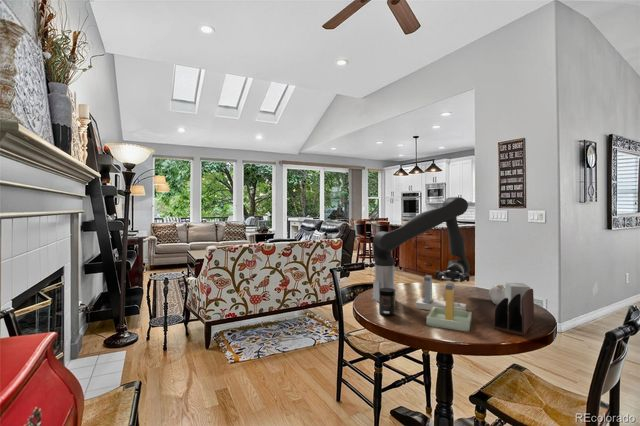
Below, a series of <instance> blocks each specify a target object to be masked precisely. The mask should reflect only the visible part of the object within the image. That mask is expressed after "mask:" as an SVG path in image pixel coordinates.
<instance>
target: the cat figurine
mask: <svg viewBox="0 0 640 426" xmlns="http://www.w3.org/2000/svg"><path fill="white" fill-rule="evenodd" d="M488 297H489V299H490V300H491V301H492V303H493V304H494V305H495V306H497V305H498V304H499V302H501V301H502V300H503V299H505V286H504V285H503V284H499V283H498V284H496V285H493V286H492V287H491V288H490V289H489V291H488Z"/></svg>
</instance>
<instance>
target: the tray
mask: <svg viewBox="0 0 640 426" xmlns="http://www.w3.org/2000/svg"><path fill="white" fill-rule="evenodd" d="M472 316H473V312H472V311H467V310H466V311H461V310H454V319H453V320H446V319H445V308H438V307H433V308H432V309H431V310H429V313H428V314H427V315H426V326H429V327H436V328H441V329H448V330H454V331H461V332H467V333H469V332H470V331H471V330H470V329H471V324H472Z"/></svg>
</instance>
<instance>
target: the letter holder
mask: <svg viewBox="0 0 640 426" xmlns="http://www.w3.org/2000/svg"><path fill="white" fill-rule="evenodd" d="M520 300H521V295H520V294H517V295H515V296H514V297H513V298H512V299H511V300H510V302H509V304H508V298H505V299H503V300H502V301H501V302H499V304H498V305H495V308H494V312H493V316H494V317H493V330H497V331H501V332H505V333H510V334H514V335H518V336H525V335H526V333H527V331H528V330H529V329H530V327H531V325H533V323H534V321H535V309H534V308H535V306H534V305H535V304H534V302H535V299H534V289H533V288H531V287H530V289H529V290H527V291H526V292H525V294H524V295H523V297H522V300H521V301H520ZM520 302H521V309H522V310H521V311H522V316H521V314H520Z"/></svg>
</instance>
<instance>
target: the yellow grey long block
mask: <svg viewBox="0 0 640 426" xmlns="http://www.w3.org/2000/svg"><path fill="white" fill-rule="evenodd" d="M445 301H446V308H445V319H446V320H453V319H454V303H455V282H447V283H446V284H445Z"/></svg>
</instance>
